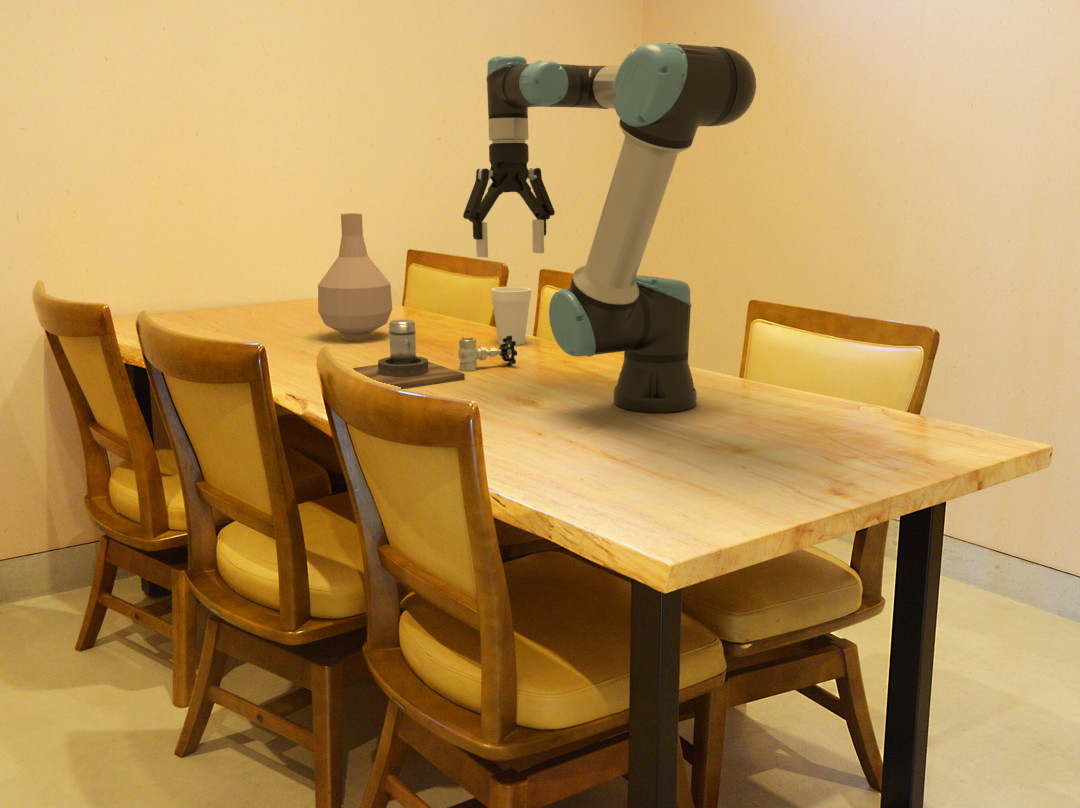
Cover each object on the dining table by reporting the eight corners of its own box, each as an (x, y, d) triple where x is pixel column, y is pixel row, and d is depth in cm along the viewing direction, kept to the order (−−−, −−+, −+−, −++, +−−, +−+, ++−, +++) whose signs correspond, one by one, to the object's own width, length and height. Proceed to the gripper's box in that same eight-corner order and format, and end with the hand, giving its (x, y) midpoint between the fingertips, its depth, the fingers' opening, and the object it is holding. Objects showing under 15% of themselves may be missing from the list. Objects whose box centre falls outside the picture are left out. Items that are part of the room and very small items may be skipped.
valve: (464, 373, 212) (517, 368, 217) (463, 342, 210) (517, 338, 215) (453, 367, 218) (505, 362, 223) (453, 337, 216) (505, 333, 221)
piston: (421, 372, 207) (419, 322, 205) (398, 375, 204) (396, 324, 202) (408, 367, 211) (407, 318, 209) (385, 370, 208) (384, 321, 206)
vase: (400, 341, 246) (396, 215, 239) (327, 346, 240) (320, 217, 233) (383, 329, 262) (379, 211, 255) (314, 334, 256) (308, 212, 248)
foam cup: (487, 345, 241) (486, 291, 238) (497, 338, 250) (497, 286, 247) (525, 347, 239) (525, 292, 236) (535, 340, 248) (535, 287, 244)
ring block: (464, 379, 206) (464, 362, 205) (384, 391, 196) (384, 374, 195) (420, 364, 220) (420, 348, 219) (343, 374, 210) (343, 358, 209)
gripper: (547, 143, 204) (548, 250, 209) (442, 142, 189) (446, 257, 194) (571, 142, 198) (572, 252, 203) (465, 141, 183) (468, 259, 188)
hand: (510, 255), depth 198 cm, fingers open, 13 cm apart
